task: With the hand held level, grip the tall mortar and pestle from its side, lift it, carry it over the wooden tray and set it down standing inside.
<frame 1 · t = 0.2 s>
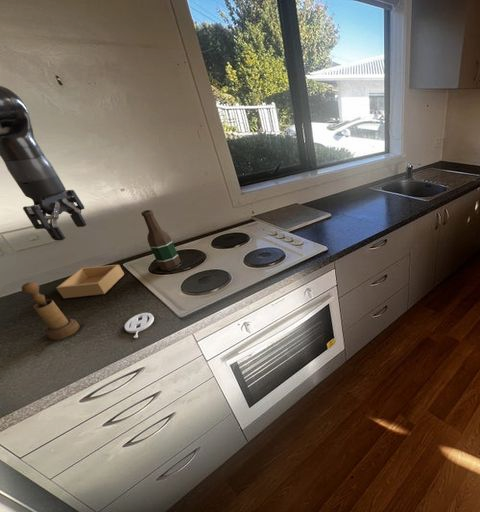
hand: (71, 232, 82), 28 cm above the worktop, tool pointing down, fingers open, 8 cm apart
beer bottle: (171, 266, 118), on the worktop
mortar and pestle: (65, 332, 87), on the worktop
pendant: (139, 326, 89), on the worktop
wooden tray: (95, 285, 107), on the worktop
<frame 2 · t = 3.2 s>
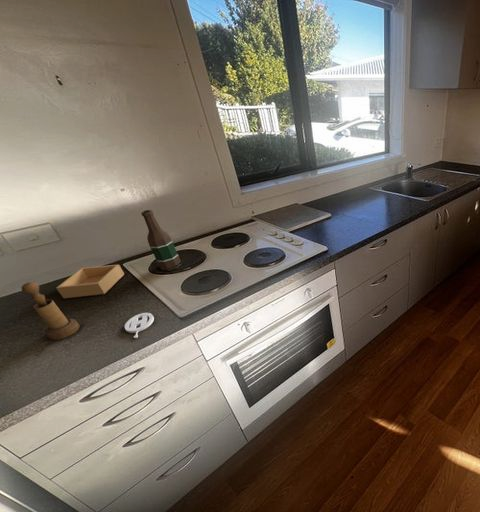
nothing on the worktop moved.
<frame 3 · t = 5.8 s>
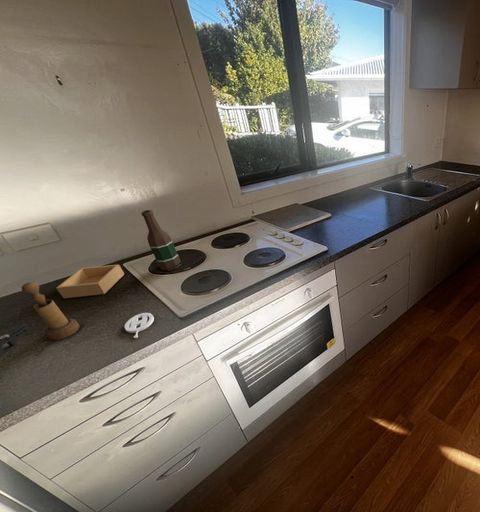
hand: (13, 325, 76), 10 cm above the worktop, tool horizontal, fingers open, 8 cm apart
nothing on the worktop moved.
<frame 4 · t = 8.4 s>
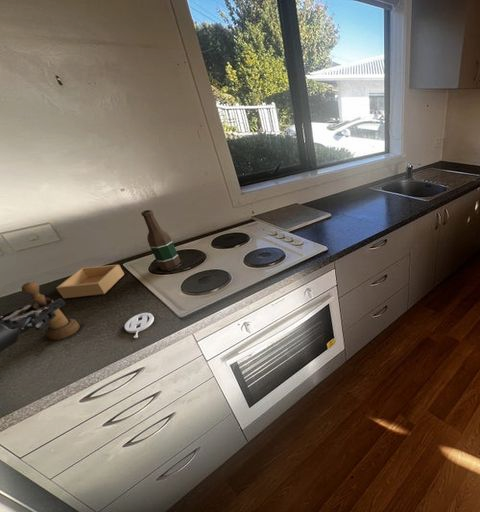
hand: (55, 300, 84), 10 cm above the worktop, tool horizontal, fingers closed on mortar and pestle, 4 cm apart
mortar and pestle: (65, 332, 87), on the worktop, touching gripper
everything else where it was.
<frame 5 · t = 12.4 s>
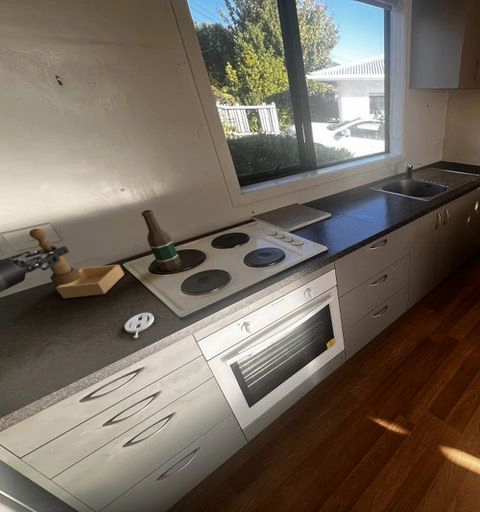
hand: (60, 248, 91), 20 cm above the worktop, tool horizontal, fingers closed on mortar and pestle, 4 cm apart
mortar and pestle: (68, 280, 94), point 9 cm above the worktop, touching gripper
everything else where it was.
when the fingers open (11 cm above the worktop, at t = 16.6 s): mortar and pestle stays where it is, resting on wooden tray.
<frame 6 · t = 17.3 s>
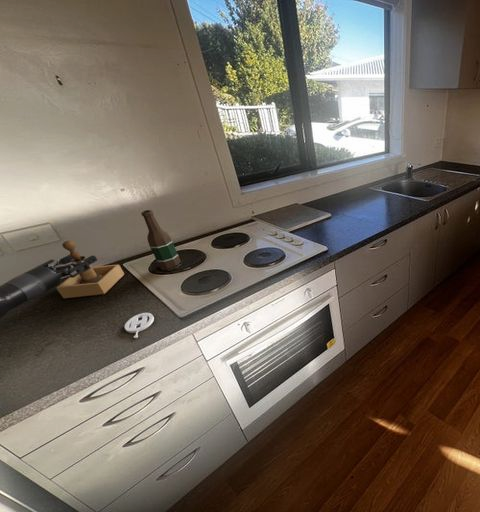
hand: (84, 256, 103), 11 cm above the worktop, tool horizontal, fingers open, 8 cm apart
mortar and pestle: (94, 284, 107), resting on wooden tray
everything else where it was.
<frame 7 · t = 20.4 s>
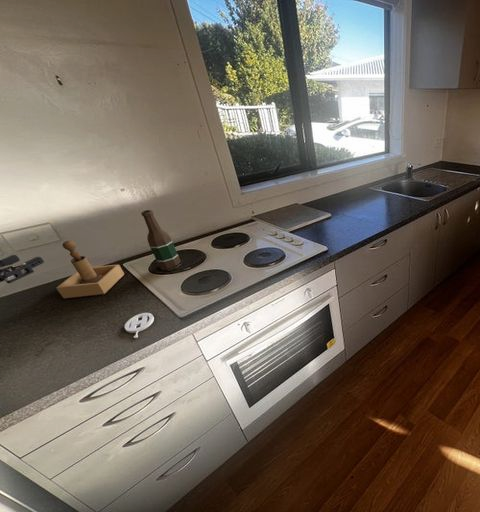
hand: (29, 258, 88), 19 cm above the worktop, tool horizontal, fingers open, 8 cm apart
nothing on the worktop moved.
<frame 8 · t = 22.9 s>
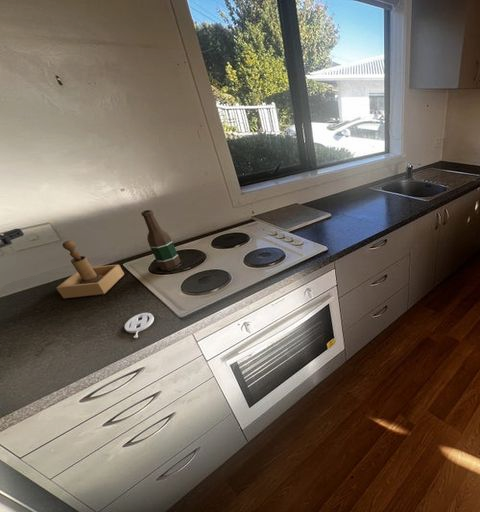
hand: (8, 230, 83), 28 cm above the worktop, tool horizontal, fingers open, 8 cm apart
nothing on the worktop moved.
at the end: mortar and pestle inside the target area in the wooden tray (0.1 cm from its centre), point 0.4 cm above the wooden tray's base; mortar and pestle tilted 0°; the gripper is holding nothing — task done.
